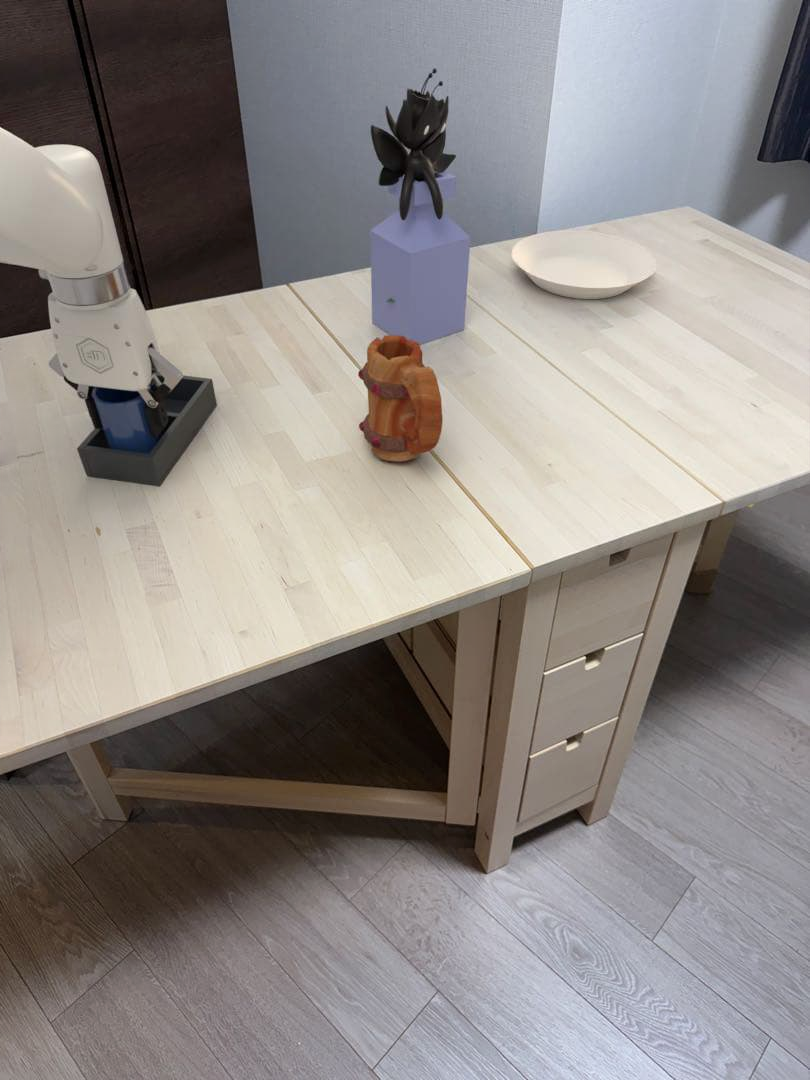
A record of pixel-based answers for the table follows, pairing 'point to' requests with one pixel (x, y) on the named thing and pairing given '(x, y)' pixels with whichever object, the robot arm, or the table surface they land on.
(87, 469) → the holder
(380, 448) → the mug
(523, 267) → the bowl
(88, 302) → the robot arm
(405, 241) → the vase
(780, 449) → the table surface
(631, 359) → the table surface
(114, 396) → the cup
